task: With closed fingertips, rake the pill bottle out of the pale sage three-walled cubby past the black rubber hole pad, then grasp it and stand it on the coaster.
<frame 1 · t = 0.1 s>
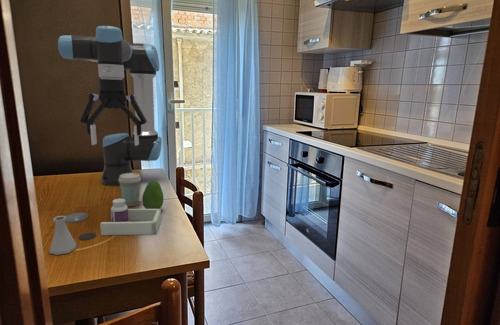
hand: (115, 144, 110), 28 cm above the table, fingers open, 13 cm apart
pill bottle: (120, 227, 113), on the table
cubby: (131, 226, 113), on the table
flask: (63, 250, 97), on the table
coffee cup: (131, 204, 134), on the table
hole pad: (87, 236, 105), on the table
coaster: (76, 217, 119), on the table
fruit: (153, 211, 128), on the table
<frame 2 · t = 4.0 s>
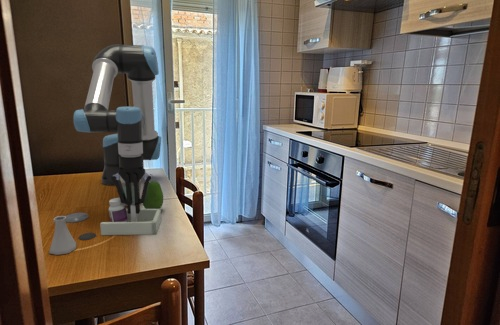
hand: (134, 222, 113), 2 cm above the table, fingers closed
pill bottle: (120, 226, 113), on the table, touching gripper, hand
everything else where it was.
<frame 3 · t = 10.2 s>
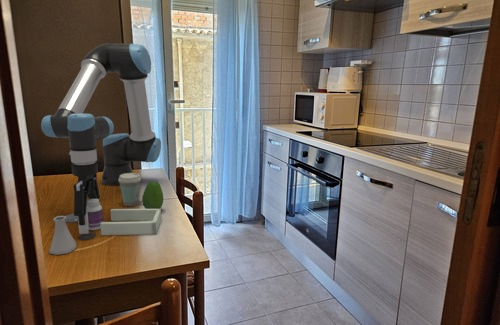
hand: (89, 226, 111), 0 cm above the table, fingers open, 9 cm apart
pill bottle: (95, 227, 112), on the table
everything else where it was.
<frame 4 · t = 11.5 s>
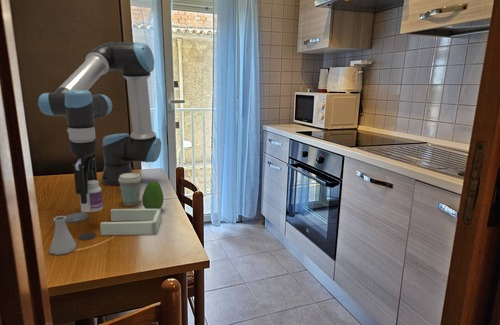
hand: (89, 207, 111), 7 cm above the table, fingers closed on pill bottle, 5 cm apart
pill bottle: (94, 209, 111), point 6 cm above the table, touching gripper
everything else where it was.
when the fingers open (1 cm above the table, at t = 15.0 s): pill bottle stays where it is, resting on coaster.
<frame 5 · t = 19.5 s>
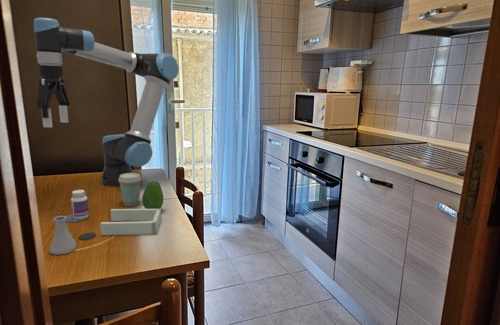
hand: (56, 124, 123), 32 cm above the table, fingers open, 13 cm apart
pill bottle: (80, 217, 119), resting on coaster
everything else where it was.
at the end: pill bottle inside the target area on the coaster (1.6 cm from its centre), point 0.2 cm above the coaster's base; pill bottle tilted 0°; the gripper is holding nothing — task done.
